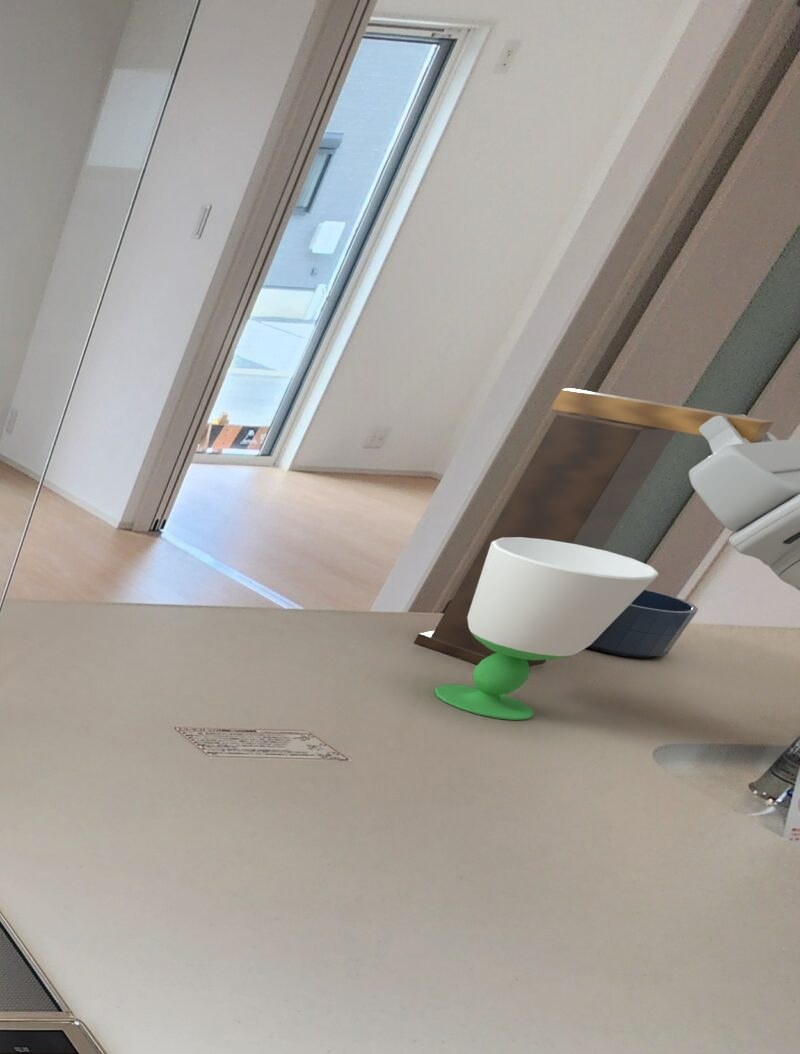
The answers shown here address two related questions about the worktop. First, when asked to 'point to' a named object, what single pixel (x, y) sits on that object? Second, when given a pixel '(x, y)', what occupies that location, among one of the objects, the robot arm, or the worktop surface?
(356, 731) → the worktop surface
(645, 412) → the wooden bar
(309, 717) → the worktop surface
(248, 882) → the worktop surface
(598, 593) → the cup
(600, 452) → the tall brown box
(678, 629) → the bowl
